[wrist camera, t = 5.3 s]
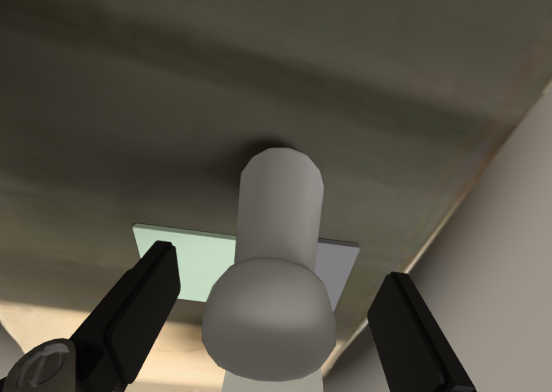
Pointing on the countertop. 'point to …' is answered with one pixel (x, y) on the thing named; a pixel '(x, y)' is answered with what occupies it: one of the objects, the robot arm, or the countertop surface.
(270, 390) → the block
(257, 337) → the salt shaker
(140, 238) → the green pad
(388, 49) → the countertop surface
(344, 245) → the grey pad
